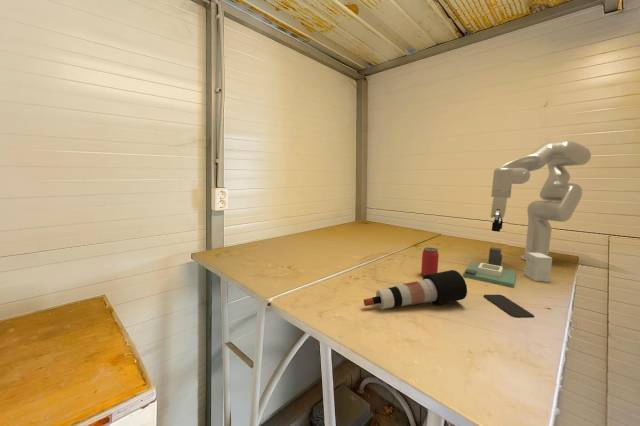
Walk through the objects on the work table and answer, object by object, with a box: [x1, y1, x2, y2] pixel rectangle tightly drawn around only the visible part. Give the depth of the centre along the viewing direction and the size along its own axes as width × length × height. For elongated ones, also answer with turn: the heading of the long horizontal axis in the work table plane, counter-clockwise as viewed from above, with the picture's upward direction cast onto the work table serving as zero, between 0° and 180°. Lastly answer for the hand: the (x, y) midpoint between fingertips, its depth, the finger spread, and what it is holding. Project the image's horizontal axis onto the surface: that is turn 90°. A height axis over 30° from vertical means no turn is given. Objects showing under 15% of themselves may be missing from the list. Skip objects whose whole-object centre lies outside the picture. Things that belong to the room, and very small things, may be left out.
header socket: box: [478, 262, 504, 278], centre depth 116 cm, size 8×8×2 cm
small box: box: [524, 252, 553, 283], centre depth 113 cm, size 8×6×10 cm
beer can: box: [420, 247, 440, 277], centre depth 116 cm, size 7×7×12 cm
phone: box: [483, 294, 535, 319], centre depth 89 cm, size 7×1×15 cm
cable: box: [363, 269, 468, 310], centre depth 89 cm, size 10×34×10 cm, turn 101°
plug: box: [487, 246, 503, 266], centre depth 128 cm, size 4×5×9 cm
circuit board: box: [462, 263, 517, 288], centre depth 116 cm, size 18×18×2 cm
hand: (496, 229), depth 126 cm, fingers open, 9 cm apart
